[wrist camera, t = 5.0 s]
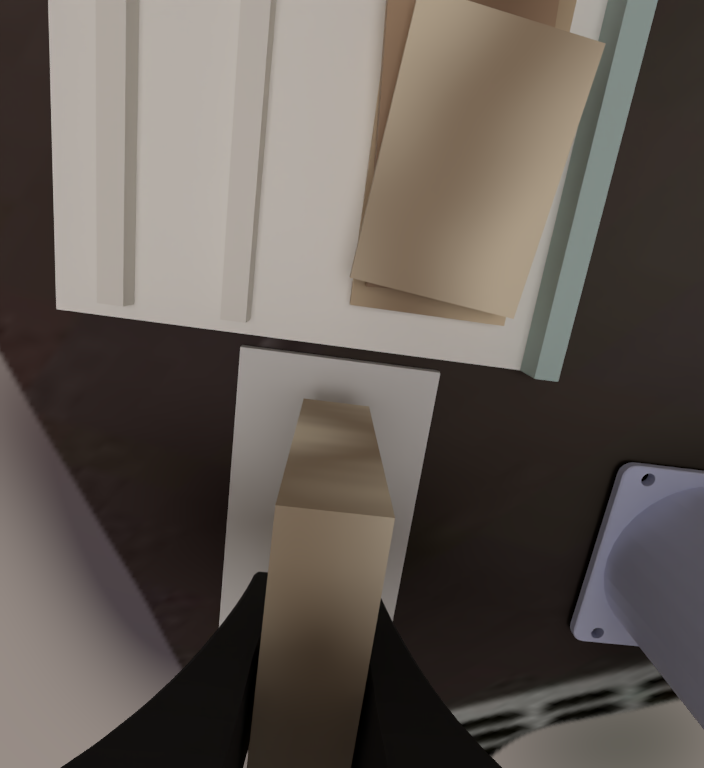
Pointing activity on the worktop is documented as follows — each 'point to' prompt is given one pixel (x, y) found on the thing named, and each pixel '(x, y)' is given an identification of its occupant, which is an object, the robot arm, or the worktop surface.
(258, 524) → the felt pad
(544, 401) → the worktop surface
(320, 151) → the board
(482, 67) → the offcut stack
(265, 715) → the birch panel
